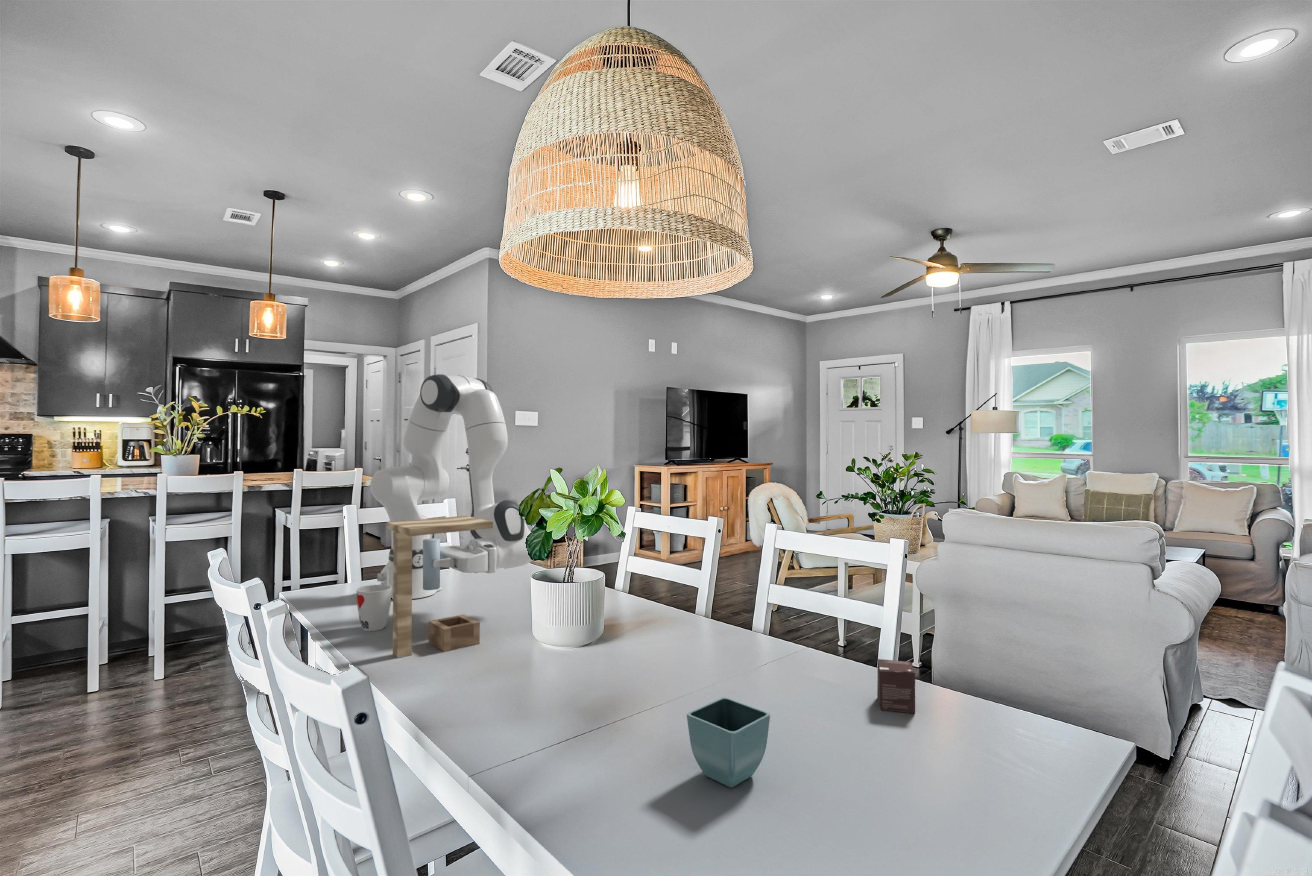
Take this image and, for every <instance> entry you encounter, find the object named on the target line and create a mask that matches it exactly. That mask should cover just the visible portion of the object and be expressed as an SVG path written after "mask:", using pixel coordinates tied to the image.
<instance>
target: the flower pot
mask: <svg viewBox="0 0 1312 876" xmlns="http://www.w3.org/2000/svg"><path fill="white" fill-rule="evenodd" d="M686 719H687V720H686V721H687V728H688V735H689V742H690V748H691V751H692V755H693V757H694V759H695V761H696V763H697V765H698V766H699V768H700V770H701V772H702V773H703V774H704V775H705V776H706V777H708V778H710V779H712V780H714V781H716V782H717V783H720V784H722V785H724V786H725V787H728V788H734V787H736V786H737V785H739V784H741V783H742V782H743V781H746V780H747V779H749V778H751V777H752V776H753V775H754V774H755V772H756V771H757V769H758V767H759V766H760V764H761V763H762V760H763V758H764V755H765V753H766V749H767V745H768V738H769V728H770V721H771V713H770V712H768V711H764V710H762V709H760V708H757V707H753V706H751V705H748V704H745V703H742V702H740V701H737V700H734V699H732V698H730V697H725V696H724V697H720V698H718V699H716V700H714V701H712V702H709V703H707V704H705V705H703V706H700V707H698V708H696V709H694V710H691V711H689V712H687V713H686Z"/></svg>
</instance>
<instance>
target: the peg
mask: <svg viewBox="0 0 1312 876" xmlns="http://www.w3.org/2000/svg"><path fill="white" fill-rule="evenodd" d="M440 547H441V539H440V538H430V539H424V540H423V589H424V590H436V589H439V588H440V586H441V567H438V568H434V567H432V566H431V564H432V563H431V561H432V560H435V559H440Z"/></svg>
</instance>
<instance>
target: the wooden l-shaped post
mask: <svg viewBox="0 0 1312 876" xmlns="http://www.w3.org/2000/svg"><path fill="white" fill-rule="evenodd" d="M489 528H493V522H492V521H488V520H483V519H478V518H474V517H471V516H468V515H461V516H459V515H458V516H449V517H447V516H446V517H436V518H435V517H434V518H432V517H431V518H428V519H420V520H408V521H396V522H390V521H387V522H386V529H387V530H389V531H391V530H392V531H395V532H393V599H392V655H393V656H394V657H395V658H397V659H400V658H403V657H404V656H405V657H408V656H412V653H413V652H412V651H413V650H412V649H413V646H412V645H413V644H412V643H413V641H412V639H413V636H412V635H413V633H412V631H413V629H412V627H413V623H412V622H413V621H412V617H413V614H412V613H413V612H412V611H413V599H412V536H419V535H429V534H430V535H436V534H437V535H438V534H447V533H457V532H466V531H467V532H469V531H470V530H479V529H489ZM399 657H400V658H399Z"/></svg>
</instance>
